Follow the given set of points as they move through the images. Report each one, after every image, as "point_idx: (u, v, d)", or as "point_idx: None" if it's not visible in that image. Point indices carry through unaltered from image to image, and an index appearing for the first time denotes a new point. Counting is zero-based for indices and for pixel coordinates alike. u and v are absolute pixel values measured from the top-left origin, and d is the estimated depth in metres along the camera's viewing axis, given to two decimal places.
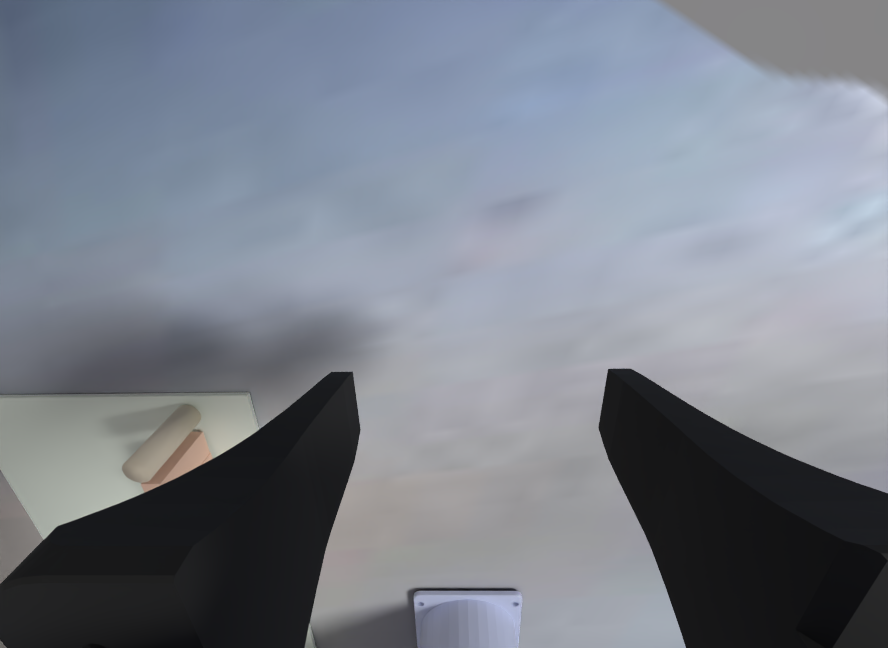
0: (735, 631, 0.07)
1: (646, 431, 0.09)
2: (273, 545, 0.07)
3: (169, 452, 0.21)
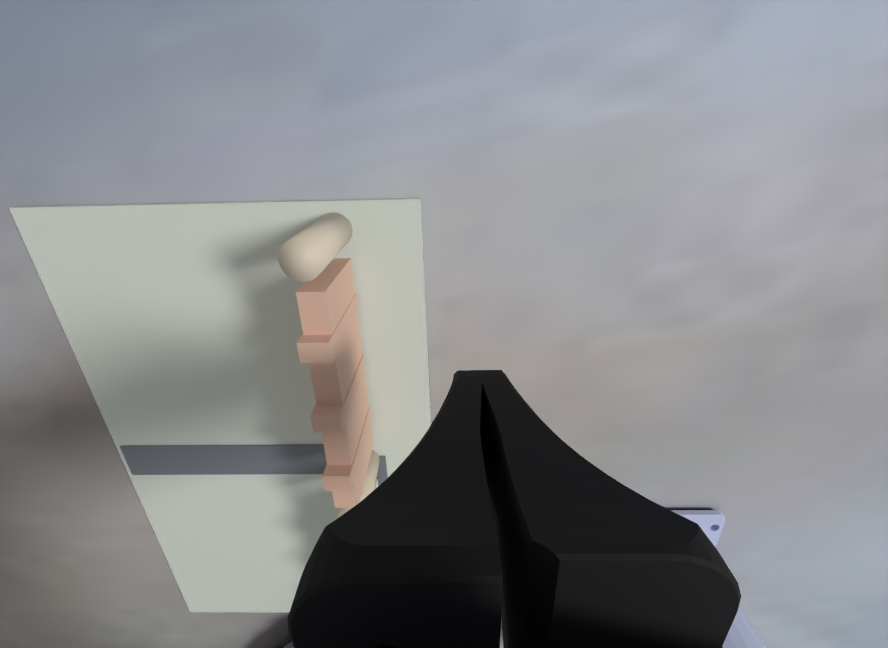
0: (513, 630, 0.07)
1: (490, 432, 0.10)
2: None
3: (334, 250, 0.15)
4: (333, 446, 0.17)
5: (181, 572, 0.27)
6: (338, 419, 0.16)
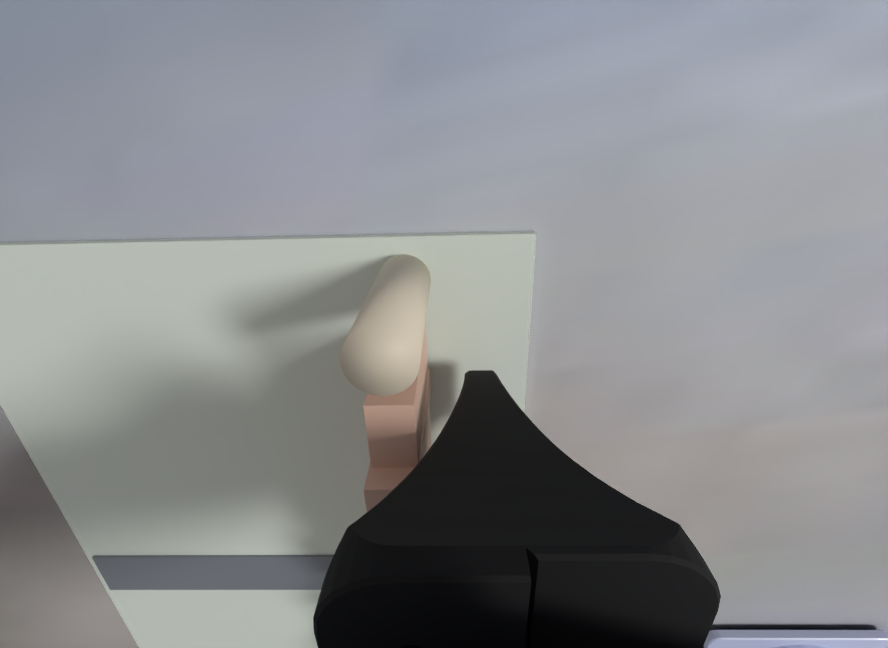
0: None
1: None
2: None
3: (424, 330, 0.09)
4: None
5: None
6: None
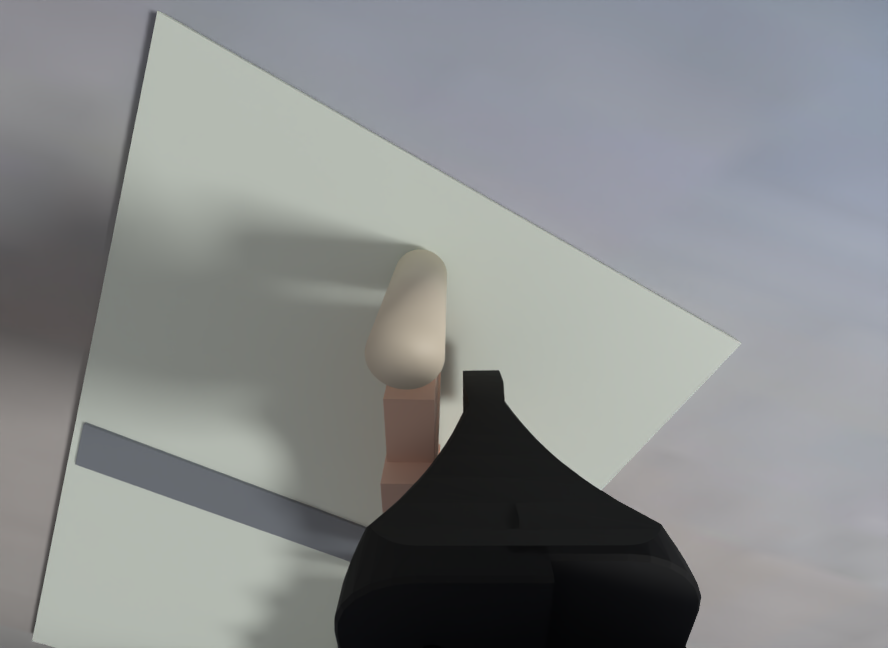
0: None
1: None
2: None
3: None
4: None
5: (56, 595, 0.18)
6: None
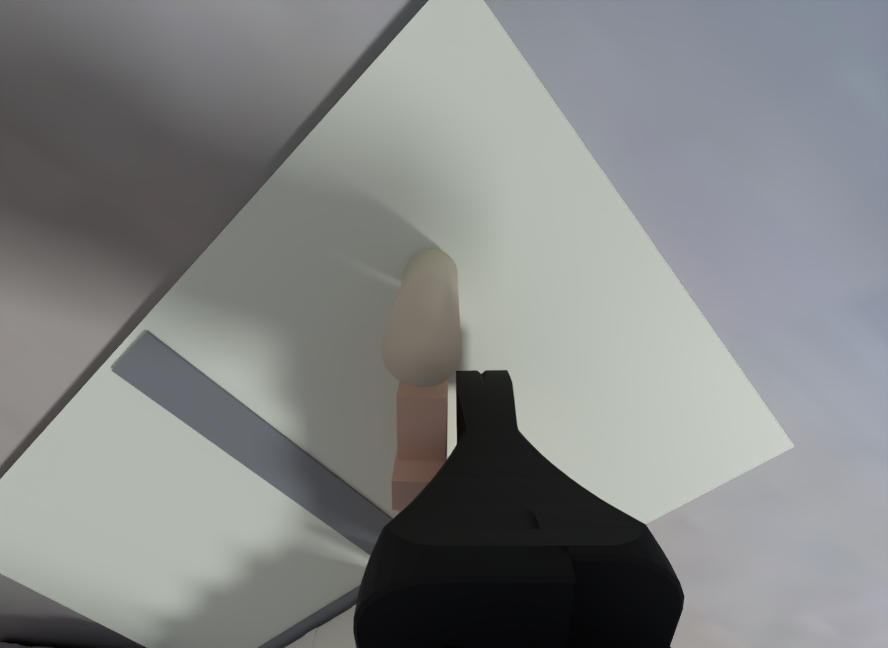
0: None
1: (461, 433, 0.10)
2: None
3: None
4: None
5: (3, 501, 0.16)
6: None
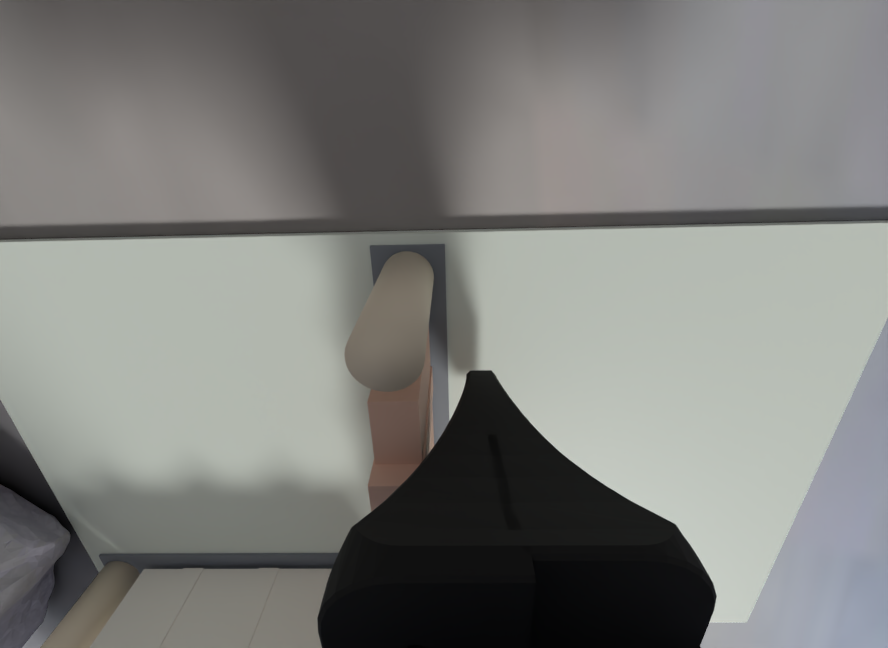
0: None
1: None
2: None
3: None
4: None
5: (69, 261, 0.12)
6: None
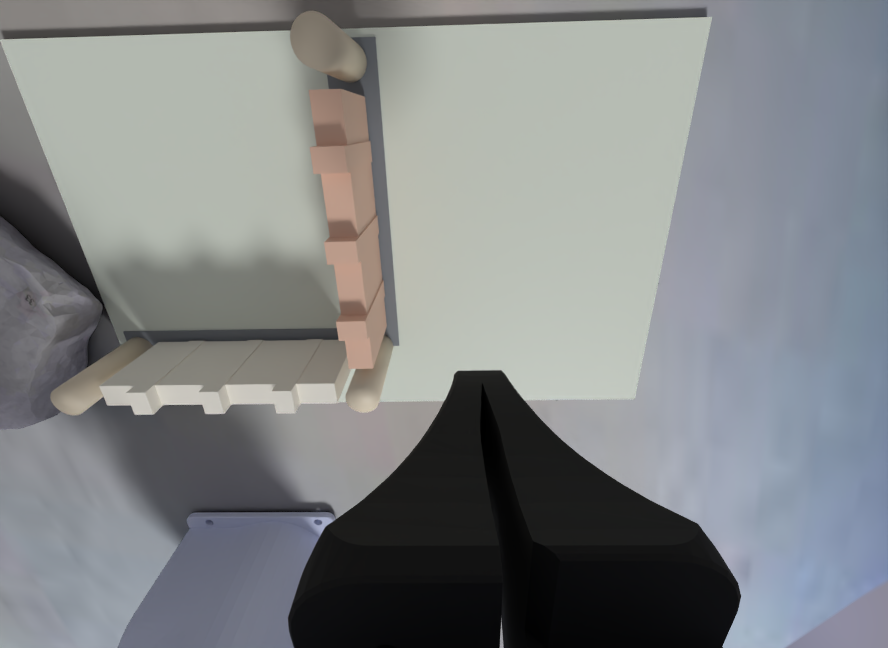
0: (513, 630, 0.07)
1: (490, 432, 0.10)
2: None
3: (349, 49, 0.13)
4: (347, 290, 0.16)
5: (111, 54, 0.16)
6: (354, 247, 0.14)
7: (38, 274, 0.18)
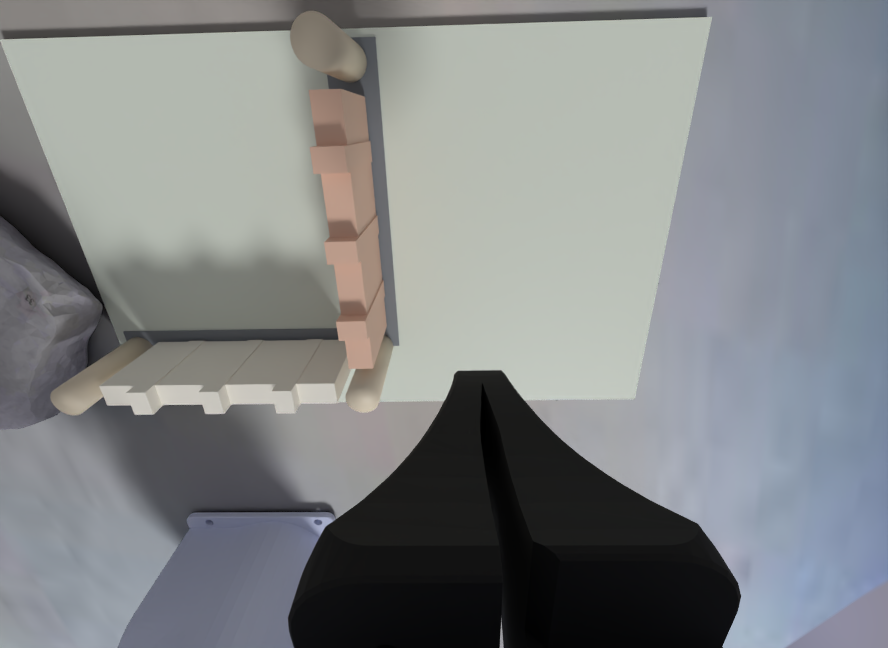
0: (513, 630, 0.07)
1: (490, 432, 0.10)
2: None
3: (349, 49, 0.13)
4: (347, 290, 0.16)
5: (111, 54, 0.16)
6: (354, 247, 0.14)
7: (38, 273, 0.18)
